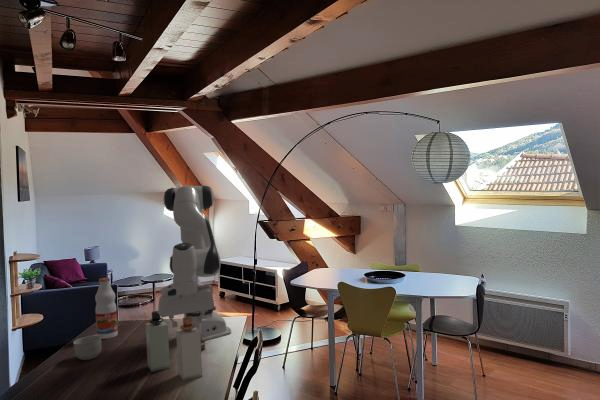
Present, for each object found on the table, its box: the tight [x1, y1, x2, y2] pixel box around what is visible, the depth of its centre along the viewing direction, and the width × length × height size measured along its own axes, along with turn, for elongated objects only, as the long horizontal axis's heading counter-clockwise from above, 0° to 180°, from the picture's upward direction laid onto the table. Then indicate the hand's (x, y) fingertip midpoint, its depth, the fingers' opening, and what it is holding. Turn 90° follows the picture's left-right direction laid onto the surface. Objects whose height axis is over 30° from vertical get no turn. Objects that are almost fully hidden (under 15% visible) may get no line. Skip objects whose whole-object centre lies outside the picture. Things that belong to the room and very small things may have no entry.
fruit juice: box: [94, 277, 119, 340], centre depth 236 cm, size 9×9×28 cm
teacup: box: [72, 334, 103, 361], centre depth 208 cm, size 14×11×8 cm
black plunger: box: [148, 310, 164, 325], centre depth 192 cm, size 5×5×18 cm
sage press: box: [145, 320, 171, 373], centre depth 192 cm, size 7×7×17 cm
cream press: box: [175, 328, 203, 382], centre depth 182 cm, size 7×7×17 cm
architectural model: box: [200, 333, 207, 350], centre depth 209 cm, size 3×7×7 cm, turn 120°
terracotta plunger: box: [180, 316, 195, 332], centre depth 182 cm, size 5×5×18 cm
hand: (187, 324), depth 182 cm, fingers open, 8 cm apart
